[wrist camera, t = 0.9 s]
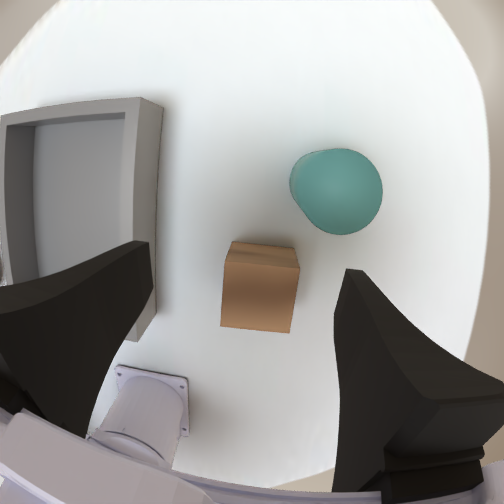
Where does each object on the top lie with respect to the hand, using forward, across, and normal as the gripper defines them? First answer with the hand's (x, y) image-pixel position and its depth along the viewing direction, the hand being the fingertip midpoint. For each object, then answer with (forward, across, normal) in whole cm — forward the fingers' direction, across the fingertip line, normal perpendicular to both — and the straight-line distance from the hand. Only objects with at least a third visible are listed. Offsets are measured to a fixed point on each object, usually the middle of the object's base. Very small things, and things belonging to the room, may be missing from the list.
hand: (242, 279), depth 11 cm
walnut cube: (+13, 0, +8) cm, 15 cm away
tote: (+12, +16, +4) cm, 21 cm away
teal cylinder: (+15, -4, 0) cm, 15 cm away
